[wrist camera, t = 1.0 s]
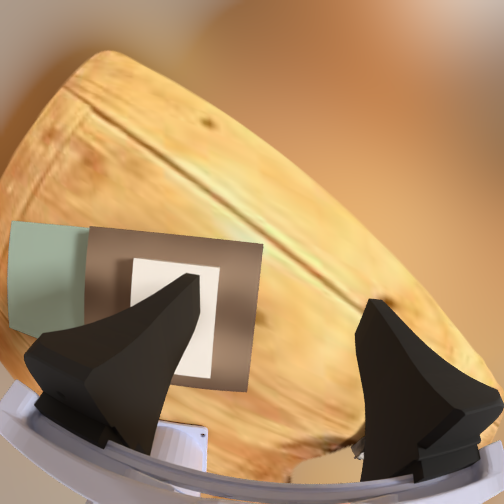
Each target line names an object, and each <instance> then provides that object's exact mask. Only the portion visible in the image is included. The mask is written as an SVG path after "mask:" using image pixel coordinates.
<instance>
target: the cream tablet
mask: <svg viewBox="0 0 504 504" xmlns="http://www.w3.org/2000/svg"><path fill="white" fill-rule="evenodd" d="M219 272H220V267H217V266H208V265H199V264H190V263H181V262H172V261H164V260H155V259H147V258H134V260H133V272H132V286H131V305H130V307H131V306H133V305H135V304H137V303H139V302H140V301H142V300H144V299H146V298H147V297H149V296H151V295H152V294H154V293H156V292H157V291H159V290H160V289H162V288H163V287H165V286H166V285H168V284H170V283H171V282H173V281H174V280H175V279H177V278H178V277H180V276H182V275H183V274H185V273H191V274H196V275H200V316H199V319H198V322H197V325H196V328H195V331H194V333H193V335H192V338H191V340H190V342H189V344H188V346H187V348H186V350H185V352H184V354H183V356H182V358H181V360H180V362H179V364H178V366H177V368H176V370H175V373H174V374H177V375H184V376H192V377H201V378H210V376H211V365H212V352H213V339H214V327H215V315H216V304H217V293H218V282H219Z"/></svg>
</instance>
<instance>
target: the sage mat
mask: <svg viewBox="0 0 504 504" xmlns="http://www.w3.org/2000/svg"><path fill="white" fill-rule="evenodd" d="M89 229H90V228H84V227H74V226H63V225H53V224H42V223H31V222H20V221H12V224H11V232H10V242H9V254H8V283H7V287H8V316H9V328H12V329H14V330H17V331H19V332H22V333H24V334H27V335H30V336H32V337H35V338H39V336H40V335H41V334H42V333H45V332H52V331H59V330H65V329H70V328H74V327H78V326H82V325H84V290H85V270H86V257H87V246H88V237H89Z"/></svg>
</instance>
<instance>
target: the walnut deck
mask: <svg viewBox="0 0 504 504" xmlns="http://www.w3.org/2000/svg"><path fill="white" fill-rule="evenodd" d="M262 252H263V244H258V243H249V242H240V241H231V240H221V239H212V238H203V237H193V236H184V235H174V234H164V233H154V232H144V231H134V230H124V229H114V228H104V227H93V226H90V229H89V237H88V246H87V257H86V270H85V290H84V325H86V324H89V323H93V322H95V321H98V320H101V319H104V318H106V317H109V316H112V315H114V314H117V313H119V312H121V311H123V310H125V309H127V308H129V307H130V305H131V286H132V272H133V260H134V258H147V259H155V260H164V261H172V262H181V263H190V264H199V265H208V266H217V267H220V272H219V282H218V293H217V304H216V315H215V327H214V339H213V352H212V365H211V376H210V378H201V377H192V376H184V375H177V374H174V375H173V377H172V380H171V383H170V385H177V386H184V387H192V388H201V389H210V390H221V391H235V392H247V388H248V379H249V370H250V362H251V353H252V344H253V335H254V326H255V317H256V308H257V299H258V290H259V280H260V271H261V261H262Z"/></svg>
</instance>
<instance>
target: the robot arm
mask: <svg viewBox="0 0 504 504" xmlns="http://www.w3.org/2000/svg"><path fill="white" fill-rule="evenodd" d="M199 316H200V275H196V274H191V273H185V274H183V275H182V276H180V277H178V278H177V279H175V280H174V281H173V282H171V283H170V284H168V285H166V286H165V287H163V288H162V289H160V290H159V291H157V292H156V293H154V294H152V295H151V296H149V297H147V298H146V299H144V300H142V301H140V302H139V303H137V304H135V305H133V306H131V307H129V308H127V309H125V310H123V311H121V312H119V313H117V314H114V315H112V316H109V317H106V318H104V319H101V320H98V321H95V322H93V323H89V324H86V325H82V326H78V327H74V328H70V329H65V330H59V331H52V332H45V333H42V334H41V335H40V336H39V338H38V339H37V340H36V341H35V342H34V343H33V345H32V346H31V347H30V348H29V349H28V350H27V352H26V353H25V354H24V361H25V364H26V366H27V368H28V370H29V371H30V373H31V374H32V376H33V377H34V379H35V380H36V382H37V383H38V385H39V386H40V388H41V389H42V390H43V393H42V394H41V396H39V395H38V394H36V393H35V392H34V391H33V390H32V389H30V388H29V387H27V386H26V385H25V384H23V383H22V382H20V381H19V380H15V381H14V383H13V384H12V386H11V387H10V388H9V389H8V391H7V392H6V394H5V395H4V397H3V398H2V399H1V401H0V434H1V435H2V436H3V437H4V438H5V439H6V440H7V441H8V442H9V443H10V444H12V445H13V446H14V447H15V448H16V449H17V450H18V451H20V452H21V453H22V454H23V455H24V456H26V457H27V458H28V459H29V460H30V461H32V462H33V463H34V464H36V465H37V466H38V467H39V468H41V469H42V470H43V471H45V472H46V473H47V474H49V475H50V476H51V477H53V478H54V479H56V480H58V481H59V482H60V483H62V484H63V485H65V486H66V487H68V488H69V489H71V490H73V491H74V492H76V493H78V494H79V495H81V496H83V497H84V498H86V499H87V502H86V504H258V503H249V502H241V501H232V500H225V499H212V498H201V497H200V493H205V494H209V495H214V496H219V497H225V498H230V499H237V500H244V501H251V502H261V503H272V504H341V503H351V504H481V503H483V502H485V501H487V500H488V499H490V498H491V497H493V496H495V495H497V494H498V493H500V492H502V491H503V490H504V449H503V446H502V443H501V440H498V441H496V442H494V443H491V444H489V445H487V446H484V447H483V448H481V449H479V450H478V447H477V444H479V443H480V442H481V438H480V434H481V433H482V432H483V431H484V430H485V429H486V428H487V427H489V426H490V425H491V424H492V423H493V422H494V421H495V420H496V419H497V418H498V417H499V415H500V414H501V413H502V411H503V408H504V403H503V401H502V398H501V396H500V394H499V392H498V390H496V389H494V388H492V387H490V386H487V385H485V384H483V383H481V382H479V381H477V380H475V379H473V378H471V377H470V376H468V375H466V374H464V373H463V372H461V371H460V370H458V369H457V368H455V367H454V366H452V365H451V364H449V363H448V362H447V361H445V360H444V359H443V358H441V357H440V356H439V355H438V354H437V353H435V352H434V351H433V350H432V349H431V348H429V347H428V346H427V345H426V344H425V343H424V342H423V341H422V340H421V339H420V338H419V337H418V336H417V335H416V334H415V333H414V332H413V331H412V330H411V329H410V328H409V327H408V326H407V325H406V324H405V323H404V322H403V321H402V320H401V319H400V318H399V317H398V316H397V315H396V314H395V312H394V311H393V310H392V309H391V308H390V307H389V306H388V305H387V304H386V303H385V302H383V301H382V300H378V299H369V300H368V302H367V305H366V308H365V310H364V313H363V315H362V318H361V320H360V323H359V325H358V327H357V330H356V332H355V346H356V356H357V361H358V367H359V372H360V377H361V382H362V388H363V393H364V400H365V448H364V460H363V468H362V474H361V480H360V482H354V483H340V484H289V483H274V482H263V481H255V480H247V479H240V478H234V477H228V476H222V475H217V474H212V473H208V472H206V467H207V441H208V429H207V428H206V427H204V426H196V425H188V424H180V423H173V422H167V421H161V420H159V417H160V414H161V410H162V407H163V404H164V401H165V397H166V394H167V391H168V388H169V386H170V383H171V380H172V377H173V375H174V373H175V370H176V368H177V366H178V364H179V362H180V360H181V358H182V356H183V354H184V352H185V350H186V348H187V346H188V344H189V342H190V340H191V338H192V335H193V333H194V331H195V328H196V325H197V322H198V319H199ZM201 434H205V435H201ZM352 502H353V503H352Z"/></svg>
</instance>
